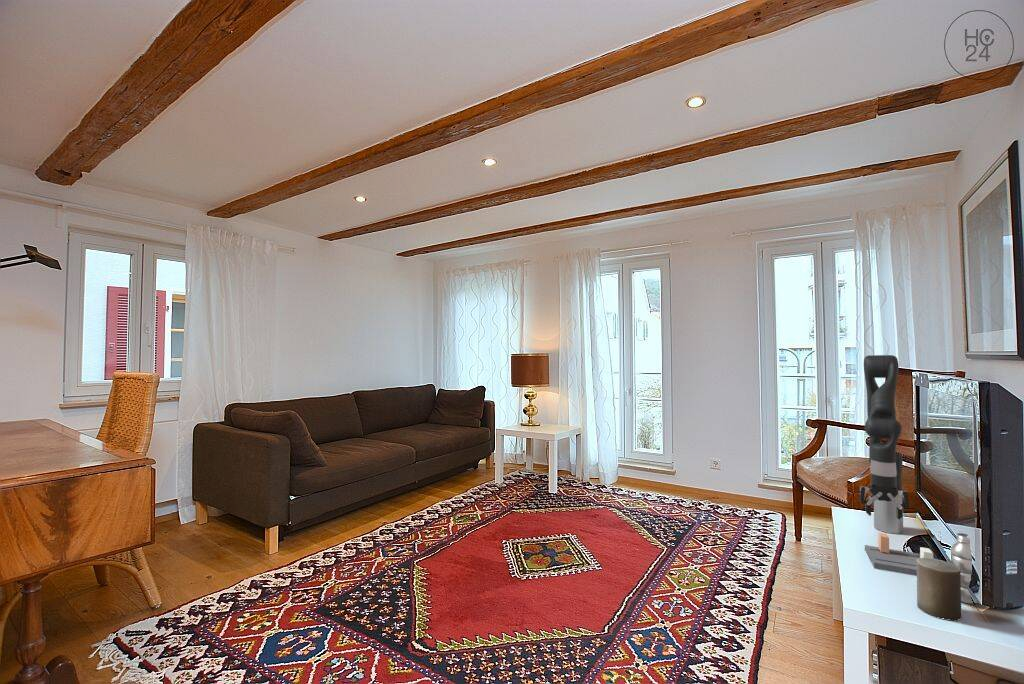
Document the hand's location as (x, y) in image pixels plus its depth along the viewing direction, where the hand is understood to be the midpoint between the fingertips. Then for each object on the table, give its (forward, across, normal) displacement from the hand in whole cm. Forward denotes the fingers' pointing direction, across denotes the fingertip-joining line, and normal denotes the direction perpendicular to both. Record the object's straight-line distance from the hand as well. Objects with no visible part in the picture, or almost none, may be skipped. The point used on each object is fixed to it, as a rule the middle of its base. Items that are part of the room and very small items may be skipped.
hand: (883, 516), depth 172 cm
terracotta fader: (+12, 0, 0) cm, 12 cm away
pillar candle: (+14, -5, +37) cm, 40 cm away
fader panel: (+15, -5, +5) cm, 16 cm away
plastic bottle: (+15, -15, +26) cm, 33 cm away
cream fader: (+12, -10, +9) cm, 18 cm away
